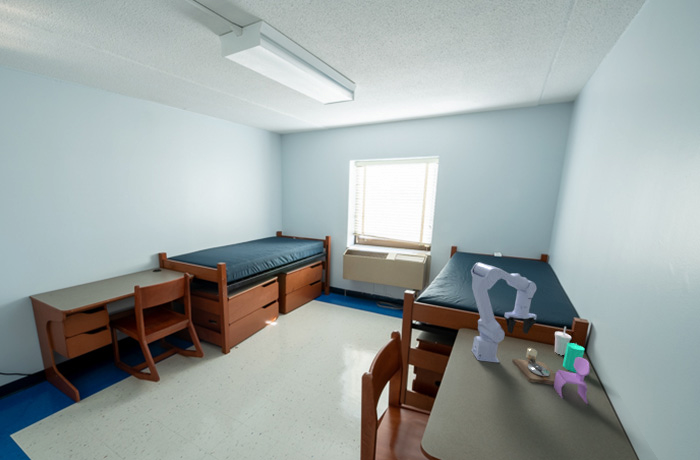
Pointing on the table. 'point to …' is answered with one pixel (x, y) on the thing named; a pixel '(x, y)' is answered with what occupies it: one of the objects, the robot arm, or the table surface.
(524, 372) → the stand
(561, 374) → the chair
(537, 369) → the crank dial
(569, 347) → the candle
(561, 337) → the smoothie
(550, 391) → the table surface
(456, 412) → the table surface
